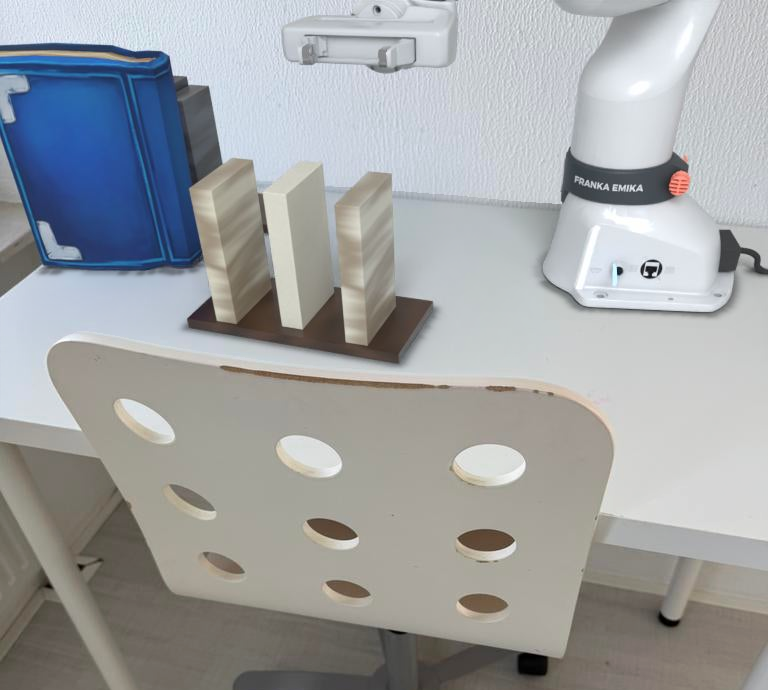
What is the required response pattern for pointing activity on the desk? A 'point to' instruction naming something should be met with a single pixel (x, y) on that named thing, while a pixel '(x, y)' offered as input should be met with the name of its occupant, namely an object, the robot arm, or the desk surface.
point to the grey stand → (201, 133)
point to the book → (98, 155)
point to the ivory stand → (258, 290)
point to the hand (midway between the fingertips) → (343, 58)
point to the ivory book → (300, 242)
